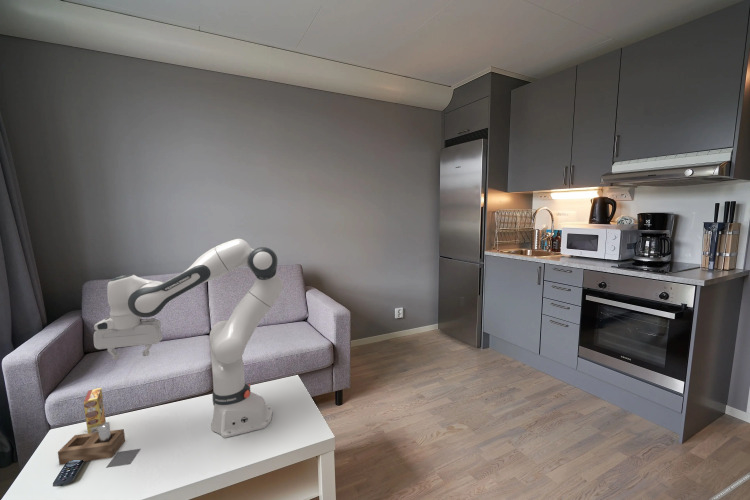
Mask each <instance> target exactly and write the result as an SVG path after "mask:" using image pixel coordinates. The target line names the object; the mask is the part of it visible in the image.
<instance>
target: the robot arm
mask: <svg viewBox="0 0 750 500" xmlns="http://www.w3.org/2000/svg"><path fill="white" fill-rule="evenodd" d="M278 264H279V259H278V255H277V254H276V253H275V251H274V250H272V249H271V248H269V247H266V246H260V247H256V248H255V249H254V248H252V247H251V245H250V244H249V243H248V242H247V241H246V240H244V239H242V238H235V239H232V240H228V241H226V242H223V243H220V244H218V245H217V246H214V247H212V248H210V249H209V250H207V251H205V252H204V253H203V254H201V255H200V256H199V257H198V258H196V260H194V262H193V263H192V264H191V265H190V266H189V267H188V268H187V269H185V270H184V271H182V273H180V274H177V275H176V276H174V277H172V278H170V279H168V280H166V281H165V282H164V281H161V280H151V279H146V278H142V277H139V276H137V275H136V274H133V273H127V274H123V275H119V276H116V277H114V278H112V279H111V280H110V281H108V283H107V288H106V293H107V303H108V306H109V309H110V311H109V317H106V318H104V319H101V320H100V321H98V322H97V323H95V324H94V326H93V329H94V330H95V331H94V333H93V345H94V346H93V347H94V348H95V349H96V350H105V349H106V350H107V352H108V353H109V354H110V355H111V356H112V360H119V358H121V355H120V354H121V352H117V350H116V348H124V347H136V346H144V348H146V349H144V350H143V351H142V352H141V353H142V357H147V356H148V357H149V355H150V349H151V348H152V346H153V345H154V344H155V345H156V344H159V343H160V342H161V341H162V339H163V332H162V328H161V325H162V324H161V321H160V320H159V319H156V317H154V316H156V315H158V314H159V313H160V312H161V311H162V310H163V309H164V308H165V306H166V305H167V304H168V303H169V302H170V301H172V300H174V299H175V298H177V297H179V296H181V295H183V294H184V293H186V292H188V291H189V290H191V289H194V288H195V287H198V286H200V285H202V284H204V283H207V282H210V281H212V280H215V279H217V278H220V277H222V276H224V275H226V274H228V273H231V272H232V271H235V270H236V269H238V268H240V267H241V268H242V267H244V266H245V267H248V268H249V269H250V271H251V272H252V273H253V274H254V276H255V277H256V280H255V282H254V283H253V285H251V287H250V289H249V290H247V292H246V293H245V294H244V296H243V297H242V298H241V299H240V300H239V302H238V303H237V304H236V305H235V306H234V309H233V310H232V313H231V315H230V316H229V318H228V320H227V319H226V320H220V321H217V322H216V323H215V324H214V325H213V326H212V327H211V329H210V332H209V338H208V339H209V349H210V360H211V370H212V386H213V391H212V395H211V396H212V399H211V400H212V404H213V415H212V422H211V426H210V428H211V430H212V431H213V432H215V433H217V434H219V435H220V436H221V437H222V438H223V439H225V438H230V437H234V436H237V435H242V434H246V433H249V432H253V431H257V430H262V429H264V428H267V427H268V426H269V424H271V421H272V418H273V409H272V406H270V404H266V401H265V399H264V397H263V396H262V395H259V394H257V393H254V392H252V391H251V383H249V384H246V383H245V368H244V360H243V356H244V354H245V353H244V352H245V350H246V348H247V345H248V343H249V342H250V340H251V338H252V336H253V334H254V332H255V331H256V329H257V328H258V326H259V324H260V322H261V321H262V320H263V319H264V318H265V316H266V314H268V312H269V311H270V309H271V308H272V307H273V306H274V305H275V303H276V302H277V300H278V299H279V297H280V295H281V294H282V292H283V290H284V287H285V286H284V281H283V280H282V279H281V277H280V276H278V275H277V267H278Z"/></svg>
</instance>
